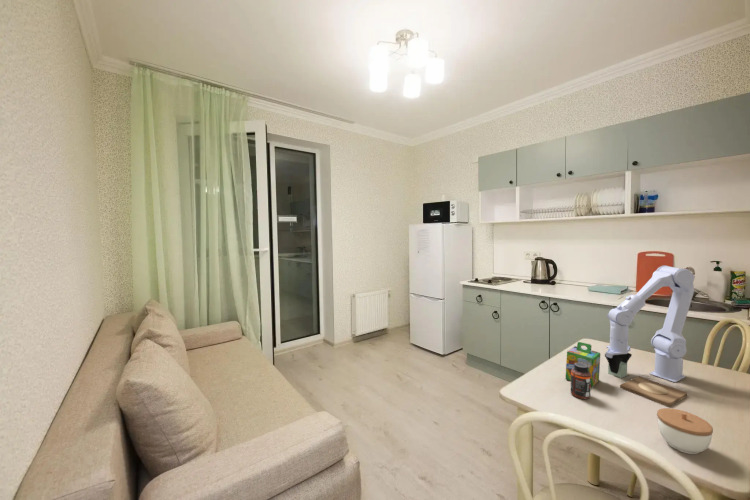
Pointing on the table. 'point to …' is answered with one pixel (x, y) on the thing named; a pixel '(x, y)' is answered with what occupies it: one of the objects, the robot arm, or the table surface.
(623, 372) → the block
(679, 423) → the lidded jar
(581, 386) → the supplement bottle
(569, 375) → the chalk box
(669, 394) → the rest board
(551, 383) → the table surface
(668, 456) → the table surface
